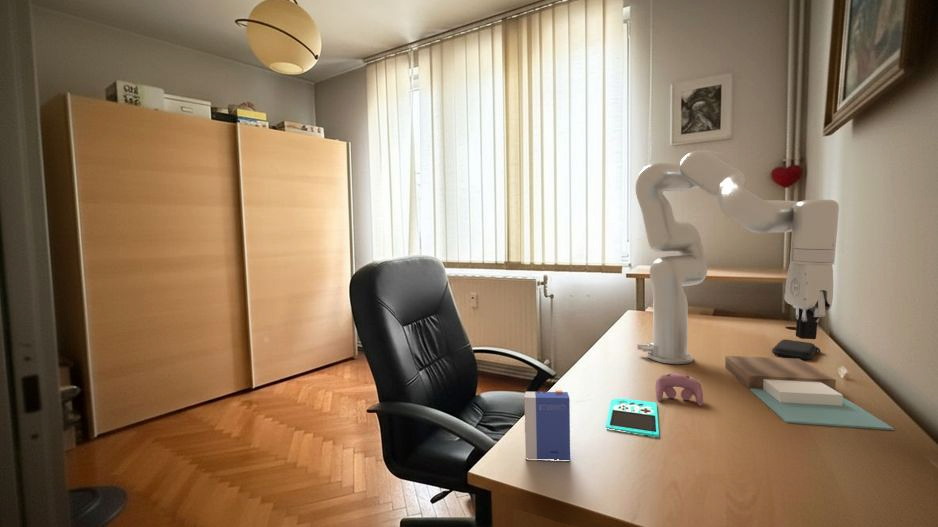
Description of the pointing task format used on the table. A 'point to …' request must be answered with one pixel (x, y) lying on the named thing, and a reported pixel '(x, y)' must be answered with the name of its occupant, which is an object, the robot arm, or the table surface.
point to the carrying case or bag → (795, 349)
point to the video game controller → (679, 380)
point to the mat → (822, 413)
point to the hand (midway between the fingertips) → (805, 337)
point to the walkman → (547, 425)
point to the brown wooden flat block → (774, 370)
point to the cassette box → (802, 392)
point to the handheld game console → (633, 416)
